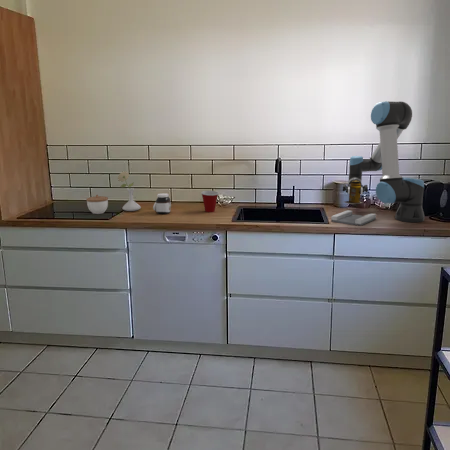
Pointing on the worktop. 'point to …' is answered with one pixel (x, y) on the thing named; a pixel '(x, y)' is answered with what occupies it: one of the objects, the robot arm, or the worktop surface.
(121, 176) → the flower in vase
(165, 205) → the spread jar
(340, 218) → the grey tray with rails
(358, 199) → the condiment
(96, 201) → the lidded bowl
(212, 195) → the plastic cup
